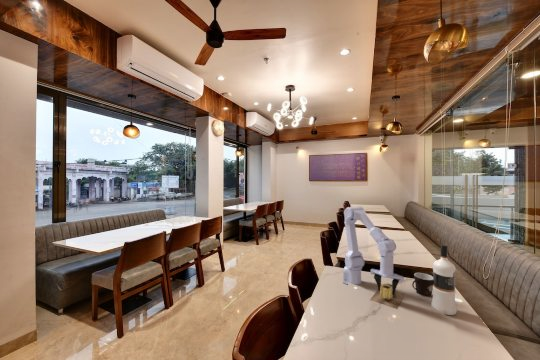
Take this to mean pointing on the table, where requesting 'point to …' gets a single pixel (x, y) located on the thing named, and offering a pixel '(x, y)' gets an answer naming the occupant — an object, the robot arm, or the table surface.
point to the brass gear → (386, 291)
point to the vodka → (444, 284)
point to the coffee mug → (423, 284)
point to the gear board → (391, 302)
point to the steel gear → (391, 286)
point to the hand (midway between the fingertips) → (386, 291)
